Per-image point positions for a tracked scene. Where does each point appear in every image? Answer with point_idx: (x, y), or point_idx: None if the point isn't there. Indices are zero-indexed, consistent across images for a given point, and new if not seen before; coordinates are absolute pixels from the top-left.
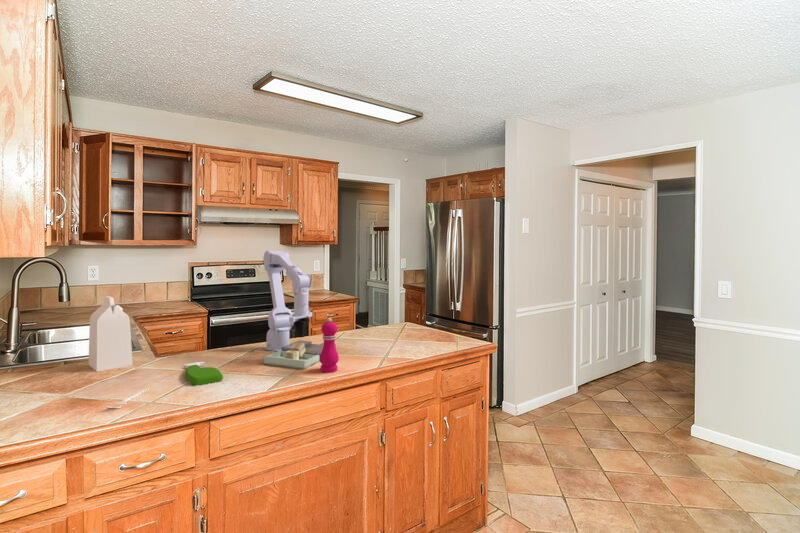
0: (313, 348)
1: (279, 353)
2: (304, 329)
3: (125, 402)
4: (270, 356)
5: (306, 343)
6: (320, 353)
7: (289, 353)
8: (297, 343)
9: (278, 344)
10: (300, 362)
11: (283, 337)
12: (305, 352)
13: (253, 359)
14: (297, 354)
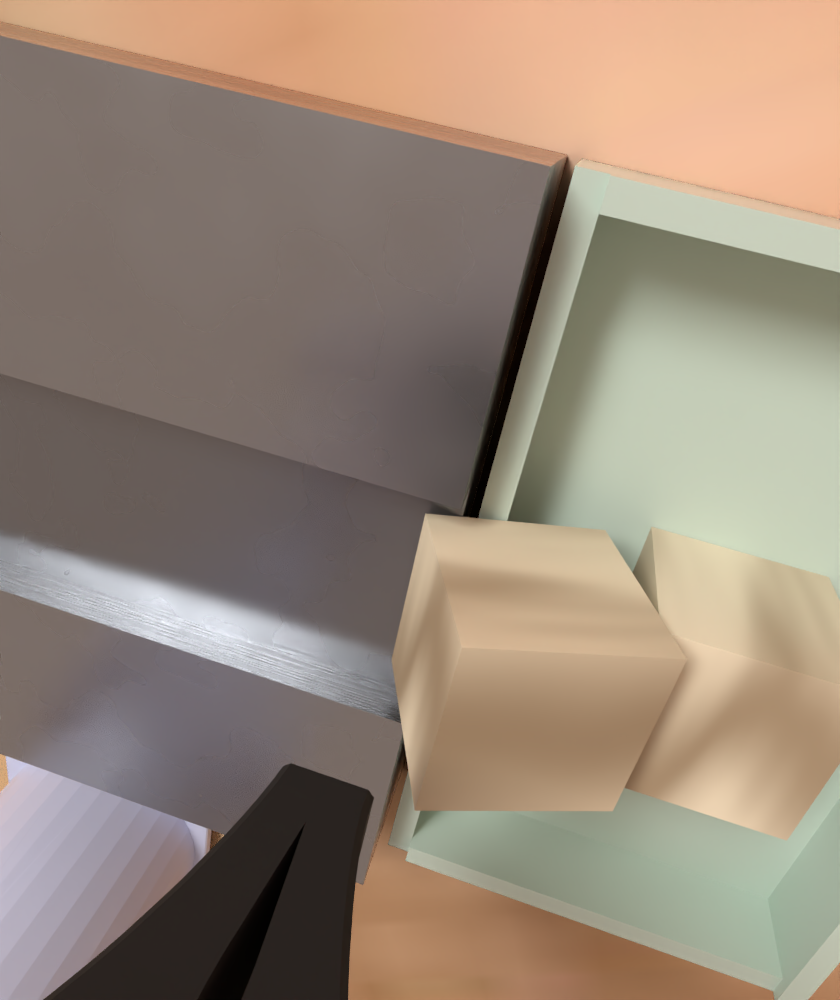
0: (297, 402)
1: (464, 835)
2: (219, 966)
3: None
4: (832, 949)
5: (23, 599)
6: (517, 155)
7: (831, 757)
8: (465, 761)
9: (153, 900)
10: None
11: (58, 946)
12: (466, 506)
13: (572, 992)
14: (719, 612)
